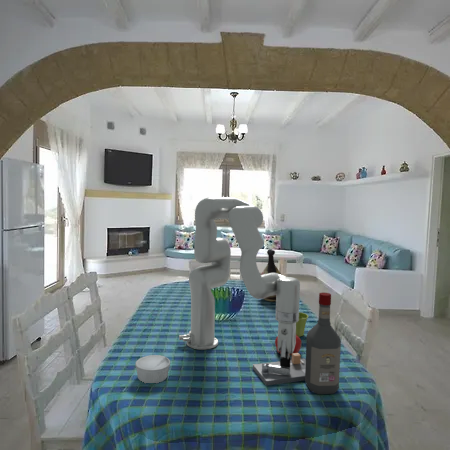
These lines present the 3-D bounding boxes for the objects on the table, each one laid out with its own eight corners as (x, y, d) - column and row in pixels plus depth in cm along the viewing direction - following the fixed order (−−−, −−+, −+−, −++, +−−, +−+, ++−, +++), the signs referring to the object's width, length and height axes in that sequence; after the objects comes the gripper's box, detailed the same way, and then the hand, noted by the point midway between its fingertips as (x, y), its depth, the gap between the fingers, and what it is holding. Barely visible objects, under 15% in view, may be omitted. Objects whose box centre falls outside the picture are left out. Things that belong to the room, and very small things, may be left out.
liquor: (341, 394, 114) (345, 297, 112) (311, 395, 114) (315, 298, 111) (330, 379, 123) (334, 290, 121) (303, 380, 123) (306, 290, 120)
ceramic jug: (258, 295, 226) (259, 246, 224) (284, 296, 224) (285, 247, 222) (256, 303, 210) (258, 250, 207) (284, 304, 207) (286, 251, 205)
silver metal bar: (261, 372, 124) (261, 365, 123) (262, 368, 126) (262, 362, 126) (289, 376, 121) (289, 369, 121) (290, 373, 123) (290, 366, 123)
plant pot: (307, 339, 158) (308, 319, 157) (285, 337, 159) (285, 317, 159) (307, 331, 167) (308, 312, 166) (286, 329, 169) (286, 311, 168)
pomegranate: (298, 360, 138) (299, 336, 137) (272, 355, 142) (272, 331, 141) (302, 349, 147) (303, 326, 146) (277, 345, 151) (278, 322, 150)
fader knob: (294, 364, 130) (294, 355, 130) (291, 361, 132) (291, 353, 132) (300, 363, 131) (300, 354, 131) (297, 361, 133) (298, 352, 133)
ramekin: (172, 383, 119) (172, 367, 119) (136, 388, 116) (136, 371, 116) (167, 368, 130) (167, 353, 129) (134, 371, 127) (134, 356, 126)
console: (266, 385, 119) (266, 379, 119) (252, 368, 130) (252, 362, 130) (322, 377, 124) (322, 371, 124) (304, 362, 136) (304, 356, 136)
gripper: (295, 324, 115) (293, 381, 117) (301, 309, 129) (299, 361, 131) (271, 320, 117) (269, 377, 119) (279, 307, 131) (277, 357, 133)
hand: (284, 368), depth 125 cm, fingers closed
